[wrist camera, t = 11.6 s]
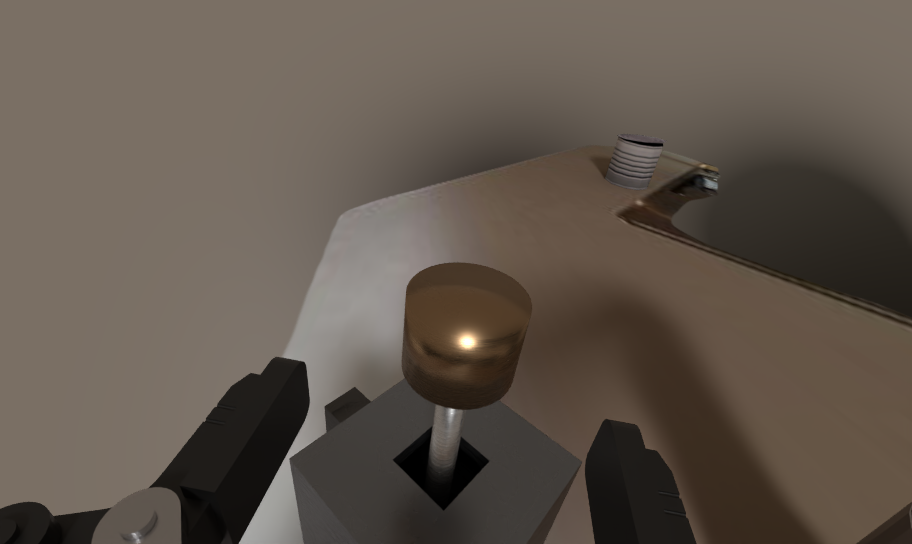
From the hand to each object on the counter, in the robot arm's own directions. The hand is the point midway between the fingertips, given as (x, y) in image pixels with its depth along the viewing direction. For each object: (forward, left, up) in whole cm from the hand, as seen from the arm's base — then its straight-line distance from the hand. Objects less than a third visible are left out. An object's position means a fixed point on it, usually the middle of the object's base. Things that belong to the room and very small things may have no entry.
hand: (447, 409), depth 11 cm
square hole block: (+3, -3, -23) cm, 24 cm away
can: (+28, -105, -24) cm, 111 cm away
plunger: (+2, -3, -19) cm, 19 cm away
